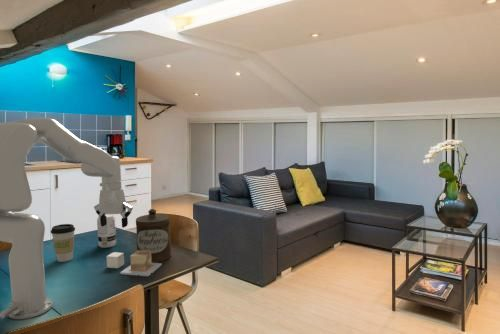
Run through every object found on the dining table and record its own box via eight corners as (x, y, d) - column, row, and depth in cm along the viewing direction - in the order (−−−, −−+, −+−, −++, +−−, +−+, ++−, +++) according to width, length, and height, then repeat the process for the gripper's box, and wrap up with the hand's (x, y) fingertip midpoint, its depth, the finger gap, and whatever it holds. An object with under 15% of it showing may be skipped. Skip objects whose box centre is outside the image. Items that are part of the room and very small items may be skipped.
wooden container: (135, 264, 160) (133, 213, 157) (139, 252, 174) (136, 206, 172) (171, 261, 162) (169, 212, 160) (171, 250, 177) (169, 204, 175)
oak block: (144, 270, 150) (143, 256, 149) (131, 269, 151) (130, 255, 150) (151, 265, 155) (151, 251, 155) (138, 264, 157) (137, 250, 156)
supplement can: (98, 244, 187) (96, 215, 185) (115, 242, 190) (113, 213, 189) (99, 249, 180) (97, 218, 178) (117, 246, 183) (115, 216, 181)
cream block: (117, 268, 155) (117, 256, 154) (107, 267, 156) (106, 256, 155) (124, 264, 160) (123, 252, 159) (113, 263, 161) (113, 252, 160)
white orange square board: (148, 276, 146) (148, 274, 146) (120, 274, 149) (120, 271, 149) (161, 265, 158) (161, 263, 158) (135, 263, 160) (135, 261, 160)
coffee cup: (47, 261, 164) (45, 227, 163) (67, 254, 173) (65, 222, 171) (62, 264, 160) (59, 230, 158) (81, 257, 168) (79, 225, 167)
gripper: (87, 187, 152) (90, 227, 154) (126, 188, 149) (128, 229, 151) (98, 184, 160) (101, 222, 162) (135, 184, 156) (137, 224, 158)
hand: (114, 226), depth 156 cm, fingers open, 9 cm apart
